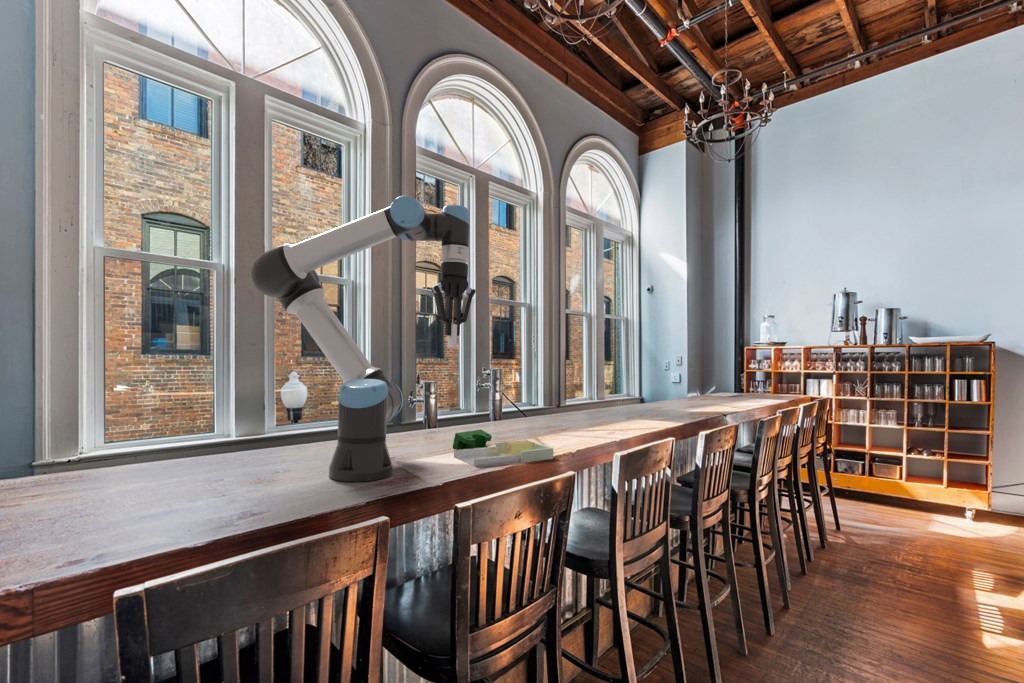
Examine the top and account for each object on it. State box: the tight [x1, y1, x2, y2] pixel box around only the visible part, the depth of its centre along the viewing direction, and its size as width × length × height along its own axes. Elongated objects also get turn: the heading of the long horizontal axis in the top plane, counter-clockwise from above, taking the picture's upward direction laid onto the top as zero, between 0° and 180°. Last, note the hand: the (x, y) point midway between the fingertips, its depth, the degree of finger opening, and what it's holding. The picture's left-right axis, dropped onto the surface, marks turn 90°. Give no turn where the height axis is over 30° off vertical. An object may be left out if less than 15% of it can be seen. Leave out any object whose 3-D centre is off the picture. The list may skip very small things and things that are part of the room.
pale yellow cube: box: [516, 439, 536, 451], centre depth 151 cm, size 4×4×4 cm
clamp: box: [452, 429, 493, 450], centre depth 159 cm, size 12×6×9 cm, turn 132°
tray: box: [495, 439, 554, 463], centre depth 150 cm, size 11×14×4 cm
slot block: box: [453, 445, 521, 468], centre depth 143 cm, size 14×13×3 cm
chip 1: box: [504, 440, 523, 456], centre depth 149 cm, size 4×4×4 cm
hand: (451, 347), depth 140 cm, fingers closed
